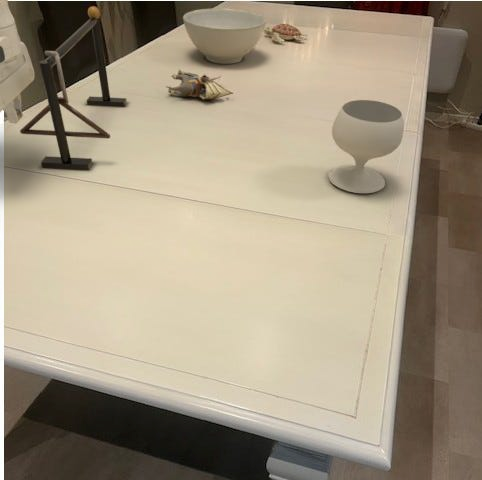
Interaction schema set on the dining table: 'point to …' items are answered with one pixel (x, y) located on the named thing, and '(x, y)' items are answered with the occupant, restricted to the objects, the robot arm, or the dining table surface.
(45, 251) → the dining table surface
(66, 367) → the dining table surface
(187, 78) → the figurine
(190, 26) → the decorative bowl
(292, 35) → the decorative turtle
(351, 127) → the chalice
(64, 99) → the hanger
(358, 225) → the dining table surface
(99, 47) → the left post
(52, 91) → the rail
